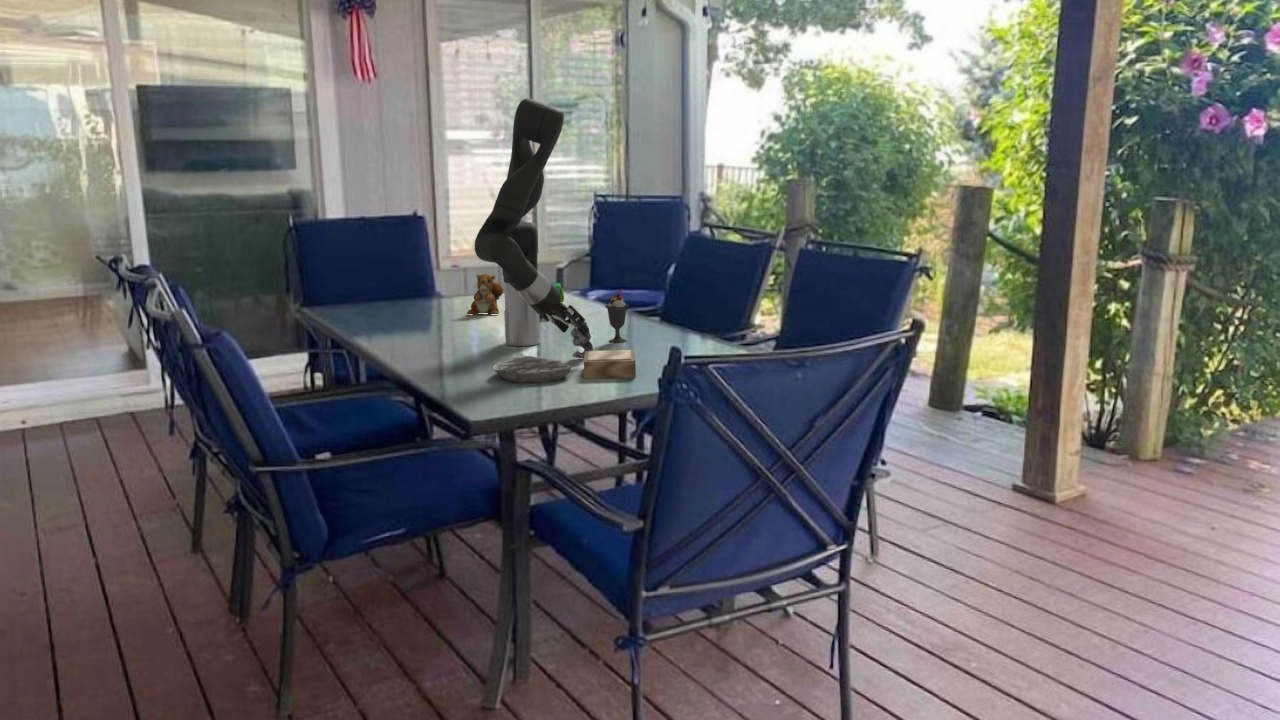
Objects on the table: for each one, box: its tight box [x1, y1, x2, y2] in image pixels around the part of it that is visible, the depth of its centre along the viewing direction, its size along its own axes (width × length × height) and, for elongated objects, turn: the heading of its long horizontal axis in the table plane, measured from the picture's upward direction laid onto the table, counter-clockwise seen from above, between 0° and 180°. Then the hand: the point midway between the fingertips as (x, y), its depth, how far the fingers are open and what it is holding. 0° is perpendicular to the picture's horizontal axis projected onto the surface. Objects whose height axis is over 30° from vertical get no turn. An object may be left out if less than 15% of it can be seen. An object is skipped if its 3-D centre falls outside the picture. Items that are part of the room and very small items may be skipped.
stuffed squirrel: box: [466, 273, 504, 315], centre depth 318 cm, size 10×14×13 cm
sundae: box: [604, 288, 630, 344], centre depth 267 cm, size 7×7×15 cm
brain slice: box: [491, 355, 572, 384], centre depth 228 cm, size 20×17×3 cm
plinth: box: [583, 349, 637, 380], centre depth 231 cm, size 12×12×4 cm
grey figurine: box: [570, 321, 595, 359], centre depth 246 cm, size 5×5×10 cm
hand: (576, 331), depth 245 cm, fingers open, 8 cm apart
